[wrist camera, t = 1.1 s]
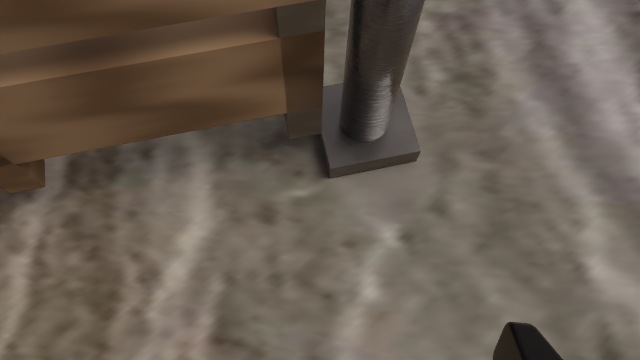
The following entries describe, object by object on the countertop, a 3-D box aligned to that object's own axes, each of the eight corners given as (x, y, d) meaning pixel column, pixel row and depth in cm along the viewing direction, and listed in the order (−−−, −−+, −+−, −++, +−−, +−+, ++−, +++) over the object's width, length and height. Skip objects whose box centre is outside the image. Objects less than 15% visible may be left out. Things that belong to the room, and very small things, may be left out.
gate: (315, 107, 24) (316, -93, 14) (321, 133, 24) (327, -54, 14) (10, 164, 23) (-232, -9, 13) (10, 193, 23) (-242, 37, 12)
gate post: (392, 86, 27) (515, -379, 11) (416, 160, 26) (604, -247, 9) (310, 101, 27) (305, -356, 10) (329, 178, 25) (360, -214, 9)
